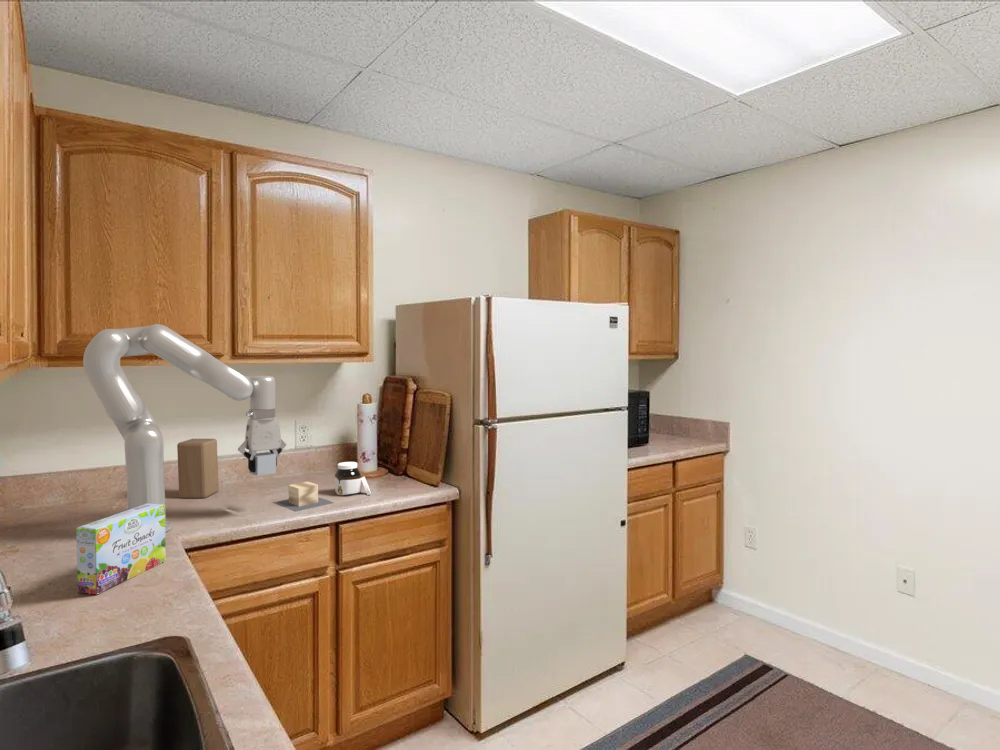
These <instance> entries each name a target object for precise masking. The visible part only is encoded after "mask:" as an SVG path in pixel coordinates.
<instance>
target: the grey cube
mask: <svg viewBox="0 0 1000 750" xmlns="http://www.w3.org/2000/svg"><path fill="white" fill-rule="evenodd" d="M254 460H255V472H254V473H253V472H250V471H249V470H248V471H249V474H252V475H254V476H256V477H257V476H258V477H259V476H266V475H275V474H277V466H276V455H275V454H272V453H270V451H267V452H266V451H265V452H256V454H255V457H254Z"/></svg>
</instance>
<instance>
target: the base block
mask: <svg viewBox="0 0 1000 750" xmlns="http://www.w3.org/2000/svg"><path fill="white" fill-rule="evenodd" d="M287 488H288V499H289V503H291V504H294V505H296V506H304V505H308V504H313V503H318V497H319V485H318V484H316V483H313V482H310V481H303V482H298V483H293V484H289V485H288V487H287Z"/></svg>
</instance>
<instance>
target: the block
mask: <svg viewBox="0 0 1000 750" xmlns="http://www.w3.org/2000/svg"><path fill="white" fill-rule="evenodd" d="M176 447H177V448H176V449H177V451H176V452H177V470H178V471H177V473H178V475H177V476H178V497H179V498H182V499H206V498H207V497H210V496H212V495H214V494H216V493H218V492H219V488H220V487H219V463H218V462H219V461H218V440H217V439H216V438H190V439H187V440H183V441H180V442H178V443H177V446H176Z"/></svg>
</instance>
